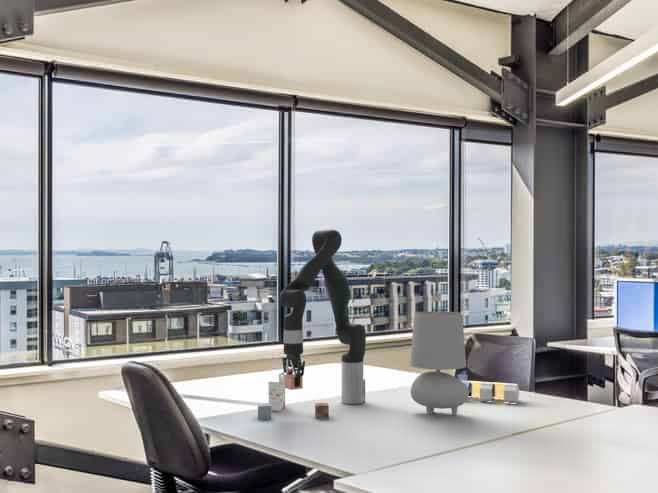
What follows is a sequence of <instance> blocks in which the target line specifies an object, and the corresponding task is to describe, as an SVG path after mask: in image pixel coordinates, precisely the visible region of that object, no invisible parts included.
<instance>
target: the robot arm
mask: <svg viewBox="0 0 658 493" xmlns="http://www.w3.org/2000/svg"><path fill="white" fill-rule="evenodd" d="M311 243H312V247H313V251H314V253H315V255H314V256H312V257H311V258H310V259H309V260H308V261H307V262H305V263H304V264H303V265H302V266H301V268H300V269H299V271H298V272H297V274H296V275H295V278H293V280H291V281H290V282H289V283H288V284H287V285H286V286H285V287H284V289H282V291H281V292H280V295H279V304H280V305H281V306H282V307H283V308H290V309H292V310H291V313H287V314H286V315H285V316H284V319H283V354H284V355H286V356H284V357H282V358H281V359H282V368H283V372H284V373H285V375H288V374H294V386H295V387H300V377H301V376H304V374H305V366H306V361H305V360H302V359H301V355H302V354H303V353H304V332H303V318H304V315H305V314H304V313H305V309H306V306H307V295H306V293H305V292H307V291H308V290H310V288H312V285H313V284H314V282H315V280H316V279H317V277H318V275H319V274H320V272H322V276H323V279H324V284H325V287H326V288H325V289H326V292H327V295H328V298H329V301H330V305H331V309H332V313H333V318H334V323H335V329H336V336H337V338H338V340H339V342H340V343H341V344H342V345H346V346H349V350H348V351H347V352H345V353H343V354H342V355H341V403H343V404H346V405H358V404H363V403H366V379H365V378H364V358H365V355H366V340H367V339H366V338H367V334H366V329H365V327H364V325H362V324H361V323H360V324H359V323H352V322H350V319H349V315H348V307H349V303H350V298H351V289H350V286H349V281H348V278H347V276H346V274H344V272H343V271H342V270H341V269H340V268H339V266H338V265H337V264H336V263H335V261H334V260H333V256H335V254H336V253H337V252H338V250H339V249H340V248H341V245H342V234H341V233H340V232H339V231H338V230H336V229H321V230H315V231H314V232H313V234H312V236H311Z"/></svg>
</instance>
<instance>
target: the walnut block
mask: <svg viewBox="0 0 658 493" xmlns="http://www.w3.org/2000/svg"><path fill="white" fill-rule="evenodd" d="M329 410H330V408H329V403H328V402H315V403H314V417H315V420H316V419H321V418H326V419H329V418H330V415H329V412H330V411H329ZM321 420H322V419H321Z"/></svg>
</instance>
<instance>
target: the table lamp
mask: <svg viewBox="0 0 658 493" xmlns="http://www.w3.org/2000/svg"><path fill="white" fill-rule="evenodd" d="M412 324H413V326H412V337H411V338H412V339H411V352H410V367H413V368H417V369H423V370H435V371H427V372H424V373H421V374H419V375H417V377H416V378H415V379H414V380H413V381H412V384H411V386H410V396H411V398H412V400H413V401H414V402H416V403H417V404H418V405H420V406H423V407H425V408H426V409H425V410H426V415H432V413H431V412H433V413H434V412H435V409H450V410H451V414H452V416H453V415H456V416H457V415H458V408H459V407H461V406H462V405H464V404H465V403H466V402H468V401H467V399H468V400H469V397H468V396H469V390H468V387H467V386H466V384H464V383H463V382H462V381H463V380H462V381H461V380H459V379H458V377H455V376H454V375H451V374H449V373H447V372H442V370H444V371H445V370H447V371H448V370H460V369H466V367H467V358H466V347H465V346H466V345H465V333H464V332H465V331H464V319H463V313H461V312H456V311H417V312H414V313H413V323H412Z"/></svg>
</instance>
